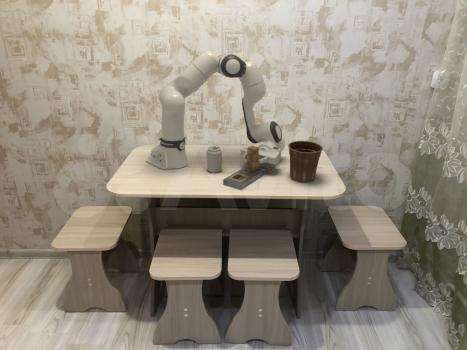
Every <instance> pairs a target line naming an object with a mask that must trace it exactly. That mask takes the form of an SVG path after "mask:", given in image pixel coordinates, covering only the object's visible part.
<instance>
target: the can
mask: <svg viewBox="0 0 467 350" xmlns="http://www.w3.org/2000/svg"><path fill="white" fill-rule="evenodd" d="M222 165H223V151H222V149H221V147H220V146H216V145H214V146H212V145H211V146H209V147H207V150H206V170H207V171H208V172H209V173H214V174H216V173H220V172H221V171H222V169H223V166H222Z"/></svg>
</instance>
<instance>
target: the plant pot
mask: <svg viewBox="0 0 467 350" xmlns="http://www.w3.org/2000/svg"><path fill="white" fill-rule="evenodd" d="M287 145H288V146H287V148H288V154H289V177H290V179H292V180H295V181H296V182H299V183H310V182H312V181H314V180H315V179H316V176H317V175H316V174H317V170H318V166H319V160H320V158H321V155H322V151H323V150H324V146H322V145H321V144H319V143H317V142H314V141H309V140H296V141H291V142H289V143H288V144H287Z"/></svg>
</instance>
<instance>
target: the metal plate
mask: <svg viewBox="0 0 467 350" xmlns="http://www.w3.org/2000/svg"><path fill="white" fill-rule="evenodd" d="M267 173H268V168H267V167H264V166H260V165H258V171H257V172H255V173H253V172H249V171H247V165H245V166H244V167H242V168H240V169H238V170H236V172H234V173H232V174H230V175H229V176H227V177H225V178H223V179H222V183H223V184H222V185H224V186H227V185H228V186H227V187H231V188H234V189H237V190H240V191H241V190H244V189H245V188H246V187H247V186H249V185H250V184H252V183H254V182H255V181H256V180H258V179H260V178H261V177H262V176H264V175H266V174H267Z"/></svg>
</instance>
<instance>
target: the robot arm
mask: <svg viewBox="0 0 467 350" xmlns="http://www.w3.org/2000/svg"><path fill="white" fill-rule="evenodd" d="M216 73H219V74H220V75H222V76H223V77H225V78H230V79H236V78H238V79H239V81H240V83H241V88H242V90H243V96H242V98H241V106H242V107H241V108H242V114H243V118H244V124H245V128H246V129H245V130H246V137H247V140H248V141H249V142H251V143H252V144H253V145H256V144H260V143H261V144H260V145H258V146H257V147H259V157H258V164H264V163H268V164H271V165H277V164H278V163H280V162H281V157H282V152H283V151H284V150H285V146H286V140H285V138H284V137H283V134H282V133H283V132H282V129H281V126H280V125H279V124H278V123H277V122H276V121H273V120H272V121H267V122H263V123H256V118H255V113H254V106H255V105H256V104H257V103H258V102H260V101H261V100H262V99H263V98H264V96H265V95H266V92H267V88H266V84H265V80H264V78H263V75H262V73H261V71H260V68H259V66H258V65H257V63H256V62H254V61H250V60H249V61H244V60H242V59H241V57H239V56H238V55H236V54H234V53H225V54H220V55H217V54H216V53H215V52H213V51H210V50H206V51H204V52H203V53H200V55H198V56H197V57H196V58H195V59H194V60H193V61H191V63H189V65H188V66H187V67H185V68H184V69H183V71H182V72H180V74H179V75H177V76H176V77H175V78H174V79H172V80H171V81H170V82H169V83H167V84H166V85H165V86H164V87H162V88H161V89H160V91H159V93H158V100H159V103H160V105H161V137H160V138H158V142H159V144H158V145H157V146H155V147H154V148H153V149H152V150H151V152H150V156H149V157H148V158H147V159H145V160H146V163H149V164H150V165H153V167H157V168H159V169H160V170H171V169H181V168H184V167H187V166H188V165H189V160H188V158H187V157H188V156H187V151H186V137H185V125H184V124H185V114H186V113H185V112H186V98H187V97H190V96H191V94H193V93H195V92H197V91H198V90H199V89H201V87H202V86H203V85H204V84H205V83H207V81H208V80H209V79H210V78H211V77H212V76H213V75H214V74H216ZM250 146H251V145H250ZM250 146H245V147H242V148H240V156H241V157H242V160H247V149H248V147H250Z"/></svg>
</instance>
